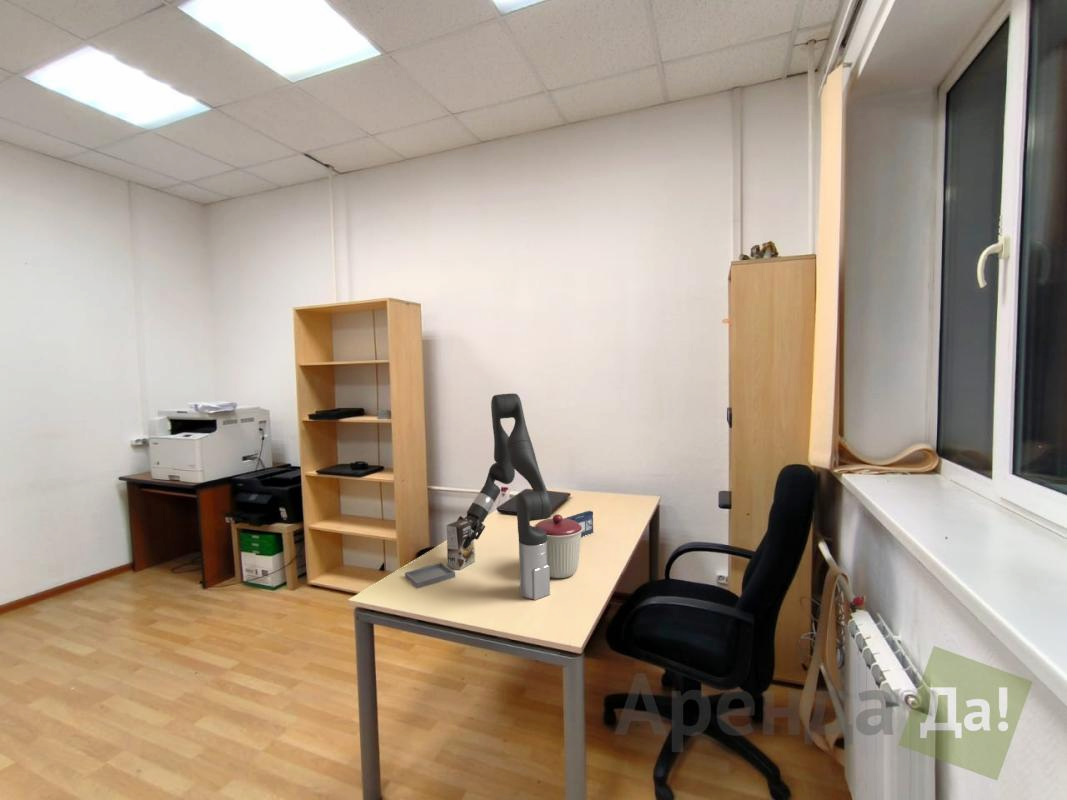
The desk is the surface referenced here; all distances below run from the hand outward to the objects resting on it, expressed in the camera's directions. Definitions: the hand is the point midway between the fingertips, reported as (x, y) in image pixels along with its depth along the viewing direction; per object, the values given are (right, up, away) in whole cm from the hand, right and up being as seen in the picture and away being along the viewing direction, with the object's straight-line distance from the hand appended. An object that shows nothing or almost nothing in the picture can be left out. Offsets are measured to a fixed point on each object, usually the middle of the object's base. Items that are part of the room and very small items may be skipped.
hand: (457, 544), depth 175 cm
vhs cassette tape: (+48, -6, +28) cm, 55 cm away
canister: (+38, -8, -8) cm, 39 cm away
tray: (-8, -9, -9) cm, 15 cm away
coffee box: (+1, -8, +1) cm, 8 cm away
